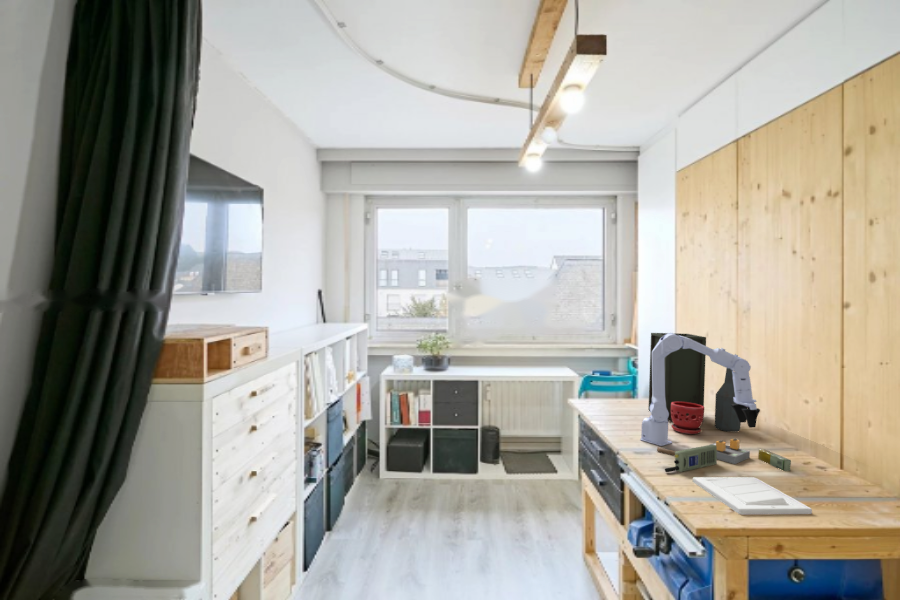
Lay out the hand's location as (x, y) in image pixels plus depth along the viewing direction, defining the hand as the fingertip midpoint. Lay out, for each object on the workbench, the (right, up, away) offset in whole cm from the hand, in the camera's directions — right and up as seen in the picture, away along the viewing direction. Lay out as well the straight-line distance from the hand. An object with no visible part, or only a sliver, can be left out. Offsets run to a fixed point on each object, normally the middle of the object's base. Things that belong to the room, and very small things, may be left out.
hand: (747, 424), depth 185 cm
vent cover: (-25, -11, -41) cm, 50 cm away
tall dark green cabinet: (-3, -10, +53) cm, 54 cm away
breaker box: (-12, -10, -5) cm, 16 cm away
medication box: (+1, -11, -13) cm, 17 cm away
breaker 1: (-14, -7, -8) cm, 18 cm away
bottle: (+11, -10, +32) cm, 35 cm away
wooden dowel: (-31, -10, -5) cm, 33 cm away
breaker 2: (-8, -7, -5) cm, 12 cm away
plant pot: (-10, -10, +26) cm, 30 cm away
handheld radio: (-31, -11, -19) cm, 38 cm away
